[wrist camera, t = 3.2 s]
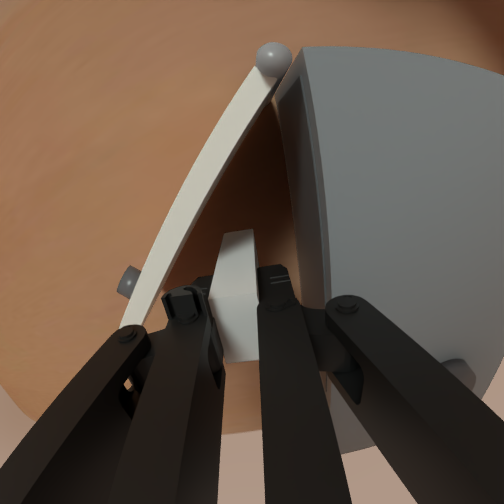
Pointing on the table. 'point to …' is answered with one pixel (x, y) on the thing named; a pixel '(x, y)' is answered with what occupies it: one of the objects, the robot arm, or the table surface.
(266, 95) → the door
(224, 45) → the table surface
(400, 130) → the case
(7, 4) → the table surface
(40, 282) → the table surface
